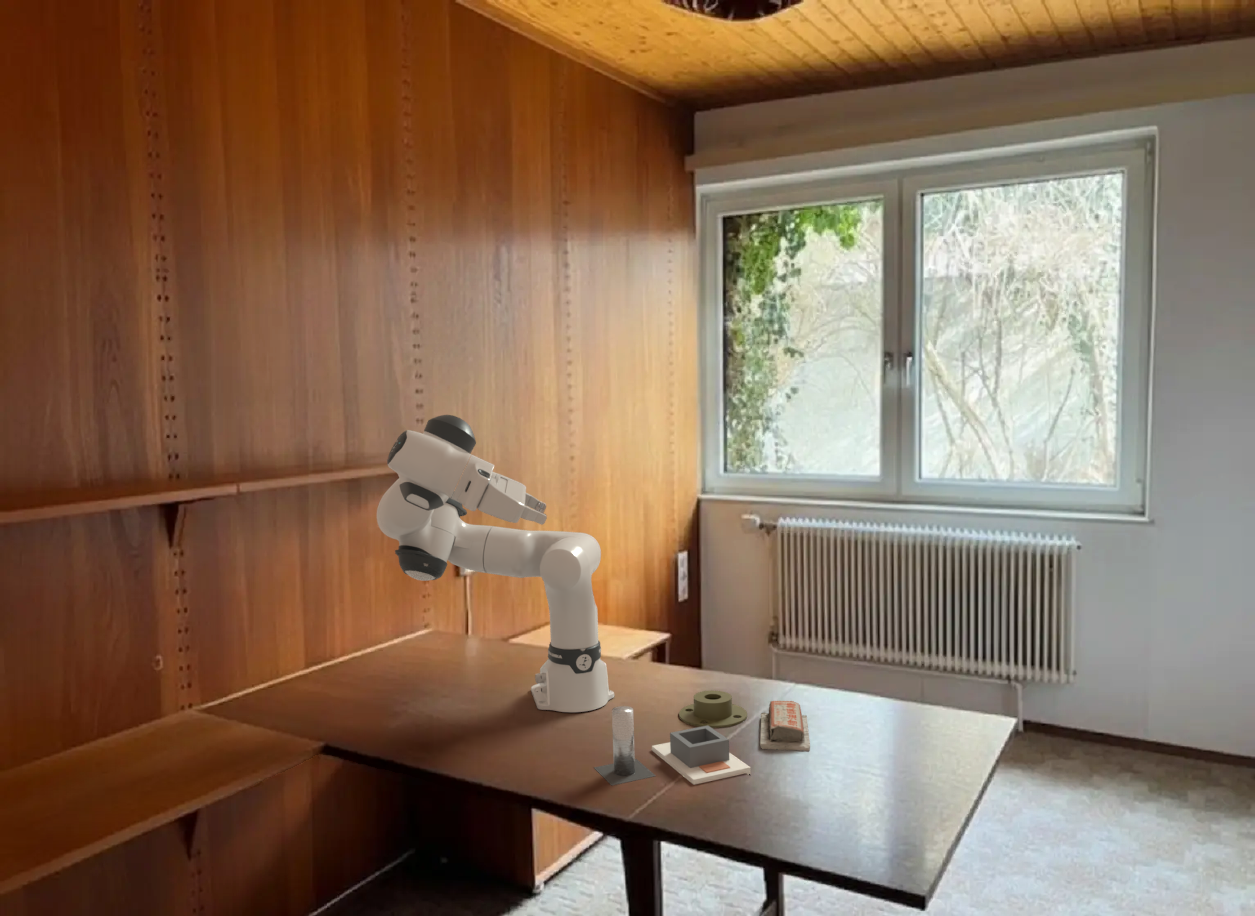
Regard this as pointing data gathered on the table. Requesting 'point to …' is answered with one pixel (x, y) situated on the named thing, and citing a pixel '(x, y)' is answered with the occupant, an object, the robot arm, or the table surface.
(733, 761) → the mounting plate
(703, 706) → the flange
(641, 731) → the table surface
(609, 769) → the pad
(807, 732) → the packaged product
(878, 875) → the table surface
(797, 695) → the table surface
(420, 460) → the robot arm
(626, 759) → the barrel peg
